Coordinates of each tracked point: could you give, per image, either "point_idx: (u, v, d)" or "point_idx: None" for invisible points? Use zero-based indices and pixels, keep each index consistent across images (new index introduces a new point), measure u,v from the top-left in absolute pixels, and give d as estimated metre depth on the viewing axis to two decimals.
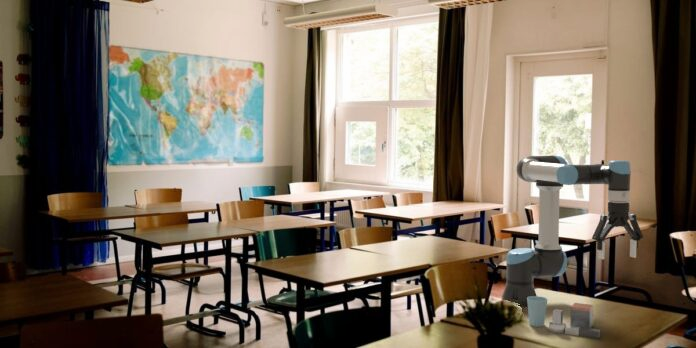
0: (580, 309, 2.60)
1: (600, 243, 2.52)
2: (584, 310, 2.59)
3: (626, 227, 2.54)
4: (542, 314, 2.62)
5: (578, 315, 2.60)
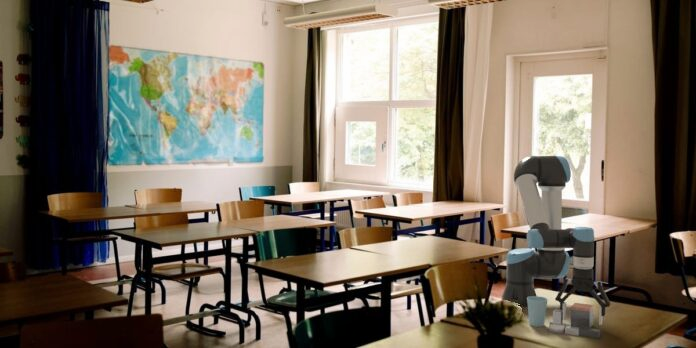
0: (580, 309, 2.60)
1: (561, 304, 2.66)
2: (584, 310, 2.59)
3: None
4: (542, 314, 2.62)
5: (578, 315, 2.60)
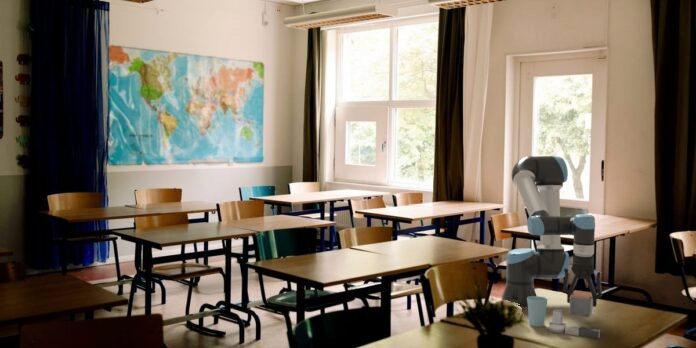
0: (580, 297, 2.60)
1: (568, 296, 2.65)
2: (584, 298, 2.59)
3: None
4: (542, 314, 2.62)
5: (578, 302, 2.60)
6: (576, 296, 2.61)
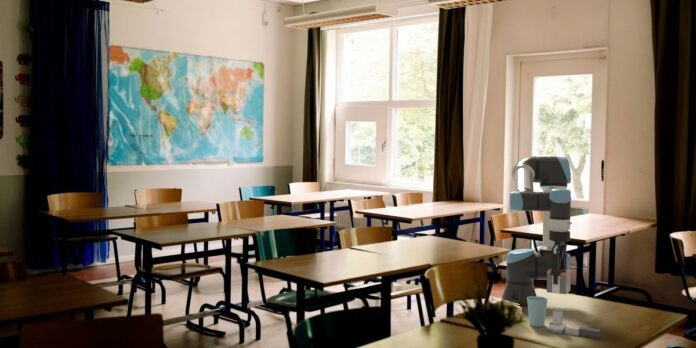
0: (568, 272, 2.53)
1: (557, 277, 2.50)
2: (569, 272, 2.54)
3: (561, 256, 2.56)
4: (542, 314, 2.62)
5: (568, 279, 2.52)
6: (567, 273, 2.52)
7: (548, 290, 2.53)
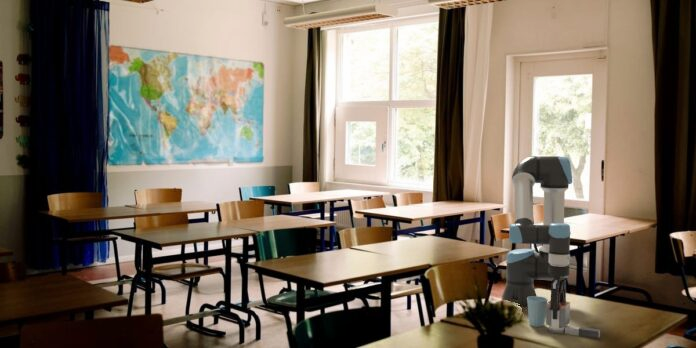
0: (567, 305, 2.54)
1: (556, 312, 2.51)
2: (568, 305, 2.55)
3: None
4: (542, 314, 2.62)
5: (567, 312, 2.53)
6: (566, 306, 2.52)
7: (547, 323, 2.54)
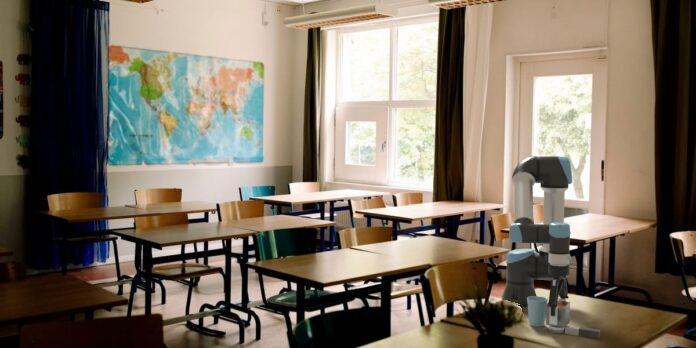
0: (567, 305, 2.54)
1: (554, 309, 2.48)
2: (568, 305, 2.55)
3: (561, 288, 2.58)
4: (542, 314, 2.62)
5: (567, 312, 2.53)
6: (566, 306, 2.52)
7: (547, 323, 2.54)
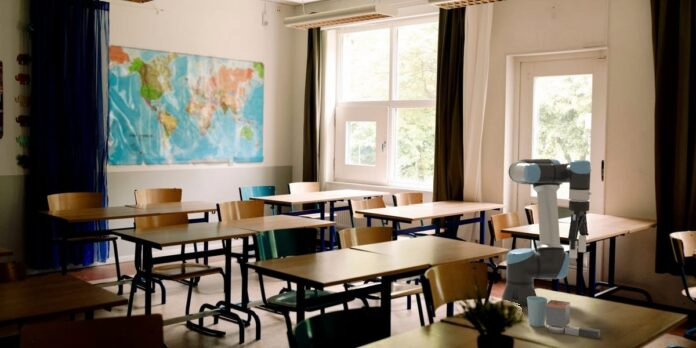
0: (567, 305, 2.54)
1: (574, 243, 2.55)
2: (568, 305, 2.55)
3: (581, 224, 2.64)
4: (542, 314, 2.62)
5: (567, 312, 2.53)
6: (566, 306, 2.52)
7: (547, 323, 2.54)
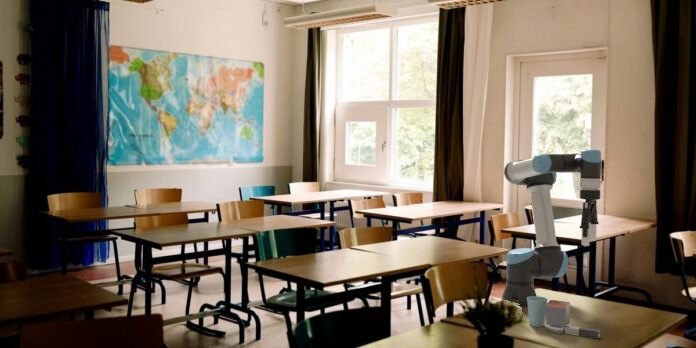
0: (567, 305, 2.54)
1: (587, 230, 2.59)
2: (568, 305, 2.55)
3: (592, 213, 2.68)
4: (542, 314, 2.62)
5: (567, 312, 2.53)
6: (566, 306, 2.52)
7: (547, 323, 2.54)
